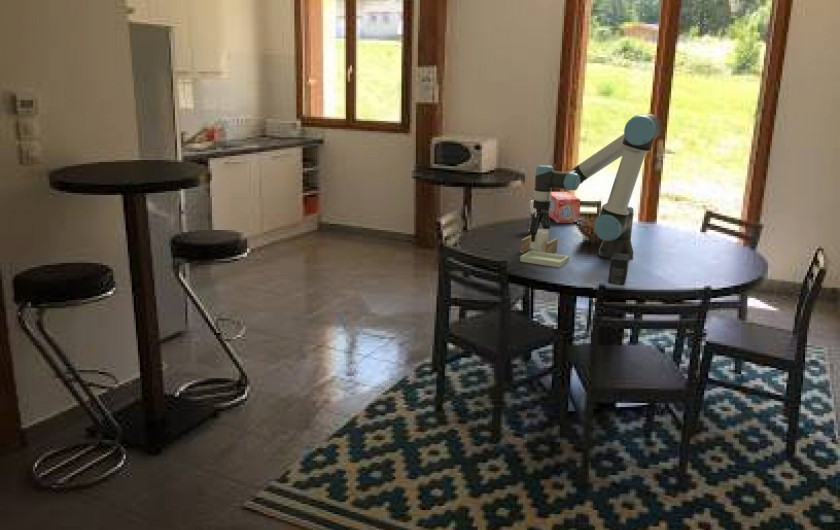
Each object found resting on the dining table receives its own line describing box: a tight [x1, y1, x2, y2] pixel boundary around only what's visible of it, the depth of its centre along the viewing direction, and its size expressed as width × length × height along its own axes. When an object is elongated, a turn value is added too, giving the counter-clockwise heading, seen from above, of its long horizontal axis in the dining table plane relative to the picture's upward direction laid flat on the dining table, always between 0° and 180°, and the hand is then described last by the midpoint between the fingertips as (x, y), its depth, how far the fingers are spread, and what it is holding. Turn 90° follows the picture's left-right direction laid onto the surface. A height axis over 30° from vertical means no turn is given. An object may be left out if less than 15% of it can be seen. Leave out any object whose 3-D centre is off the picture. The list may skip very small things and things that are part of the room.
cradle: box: [520, 234, 559, 254], centre depth 313 cm, size 13×12×6 cm
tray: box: [519, 249, 570, 268], centre depth 298 cm, size 18×12×2 cm, turn 60°
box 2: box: [607, 252, 630, 286], centre depth 270 cm, size 11×7×10 cm, turn 158°
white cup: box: [531, 228, 550, 253], centre depth 313 cm, size 8×8×10 cm
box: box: [549, 191, 581, 224], centre depth 385 cm, size 27×13×14 cm, turn 5°
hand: (538, 245), depth 313 cm, fingers open, 13 cm apart
